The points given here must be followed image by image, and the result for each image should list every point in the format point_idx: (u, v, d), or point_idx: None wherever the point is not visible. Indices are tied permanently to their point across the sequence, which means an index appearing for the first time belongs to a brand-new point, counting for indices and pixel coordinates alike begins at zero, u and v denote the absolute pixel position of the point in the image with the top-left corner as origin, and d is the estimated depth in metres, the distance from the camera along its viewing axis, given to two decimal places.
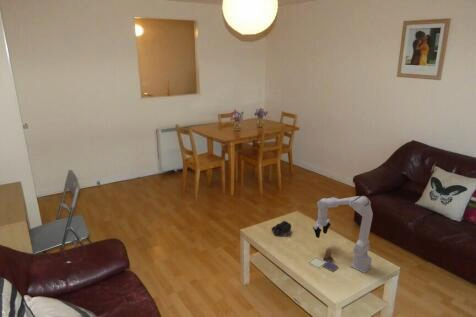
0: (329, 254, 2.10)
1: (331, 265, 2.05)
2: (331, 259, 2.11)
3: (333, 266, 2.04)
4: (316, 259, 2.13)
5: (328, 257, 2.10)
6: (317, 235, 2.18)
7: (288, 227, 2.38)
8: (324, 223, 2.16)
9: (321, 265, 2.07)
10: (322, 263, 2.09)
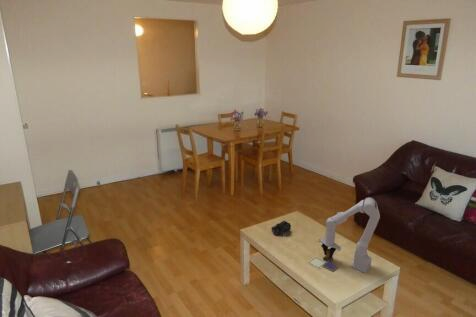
0: (329, 254, 2.10)
1: (331, 265, 2.05)
2: (331, 259, 2.11)
3: (333, 266, 2.04)
4: (316, 259, 2.13)
5: (328, 257, 2.10)
6: None
7: (288, 227, 2.38)
8: (325, 242, 2.08)
9: (321, 265, 2.07)
10: (322, 263, 2.09)
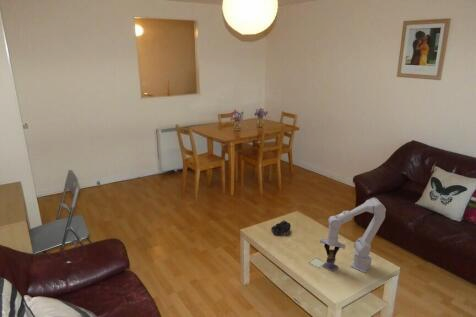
0: (333, 255, 2.01)
1: (331, 265, 2.05)
2: (334, 259, 2.03)
3: (333, 266, 2.04)
4: (316, 259, 2.13)
5: (332, 258, 2.02)
6: None
7: (287, 227, 2.39)
8: (329, 242, 1.98)
9: (321, 265, 2.07)
10: (322, 263, 2.09)
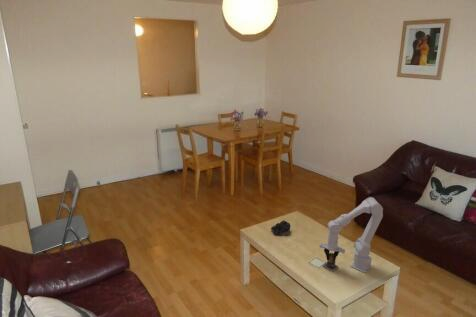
0: (333, 258, 2.02)
1: None
2: (334, 263, 2.04)
3: None
4: (316, 259, 2.13)
5: (332, 261, 2.03)
6: None
7: (287, 227, 2.39)
8: (329, 247, 1.99)
9: (321, 265, 2.07)
10: (322, 263, 2.09)
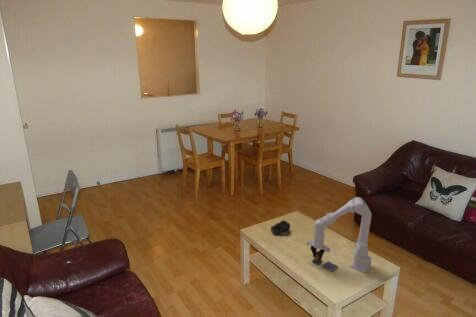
0: (318, 257, 2.07)
1: (331, 265, 2.05)
2: (320, 261, 2.08)
3: (333, 266, 2.04)
4: None
5: (317, 260, 2.07)
6: None
7: (287, 226, 2.39)
8: (314, 244, 2.04)
9: (321, 265, 2.07)
10: (322, 263, 2.09)
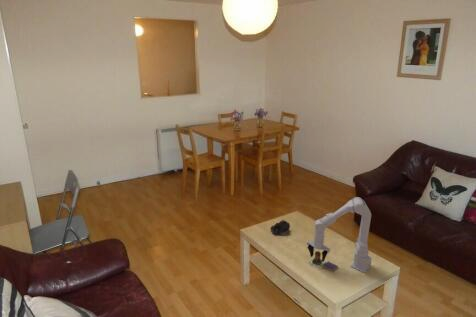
0: (318, 257, 2.07)
1: (331, 265, 2.05)
2: (320, 261, 2.08)
3: (333, 266, 2.04)
4: None
5: (317, 260, 2.07)
6: None
7: (287, 226, 2.39)
8: (314, 245, 2.04)
9: (321, 265, 2.07)
10: (322, 263, 2.09)
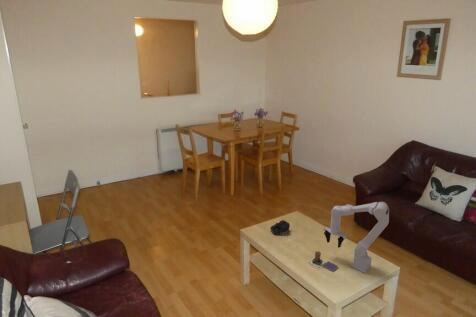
0: (318, 257, 2.07)
1: (331, 265, 2.05)
2: (320, 261, 2.08)
3: (333, 266, 2.04)
4: None
5: (317, 260, 2.07)
6: None
7: (287, 226, 2.39)
8: (331, 230, 2.07)
9: (321, 265, 2.07)
10: (322, 263, 2.09)
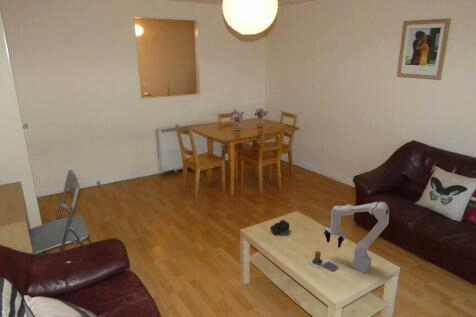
0: (318, 257, 2.07)
1: (331, 265, 2.05)
2: (320, 261, 2.08)
3: (333, 266, 2.04)
4: None
5: (317, 260, 2.07)
6: None
7: (286, 226, 2.39)
8: (331, 230, 2.07)
9: (321, 265, 2.07)
10: (322, 263, 2.09)
